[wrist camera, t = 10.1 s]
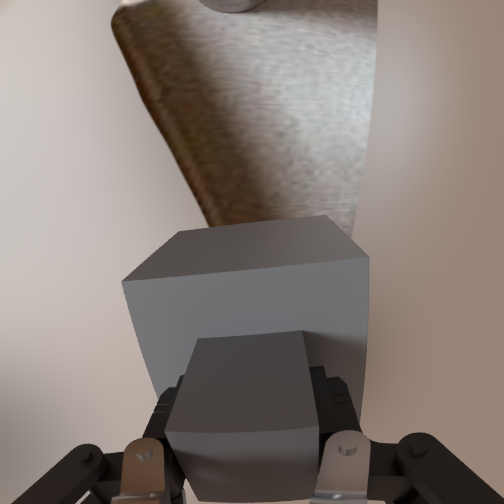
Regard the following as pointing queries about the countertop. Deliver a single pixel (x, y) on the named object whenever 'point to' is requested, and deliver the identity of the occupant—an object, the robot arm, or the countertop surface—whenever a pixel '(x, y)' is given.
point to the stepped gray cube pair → (251, 348)
